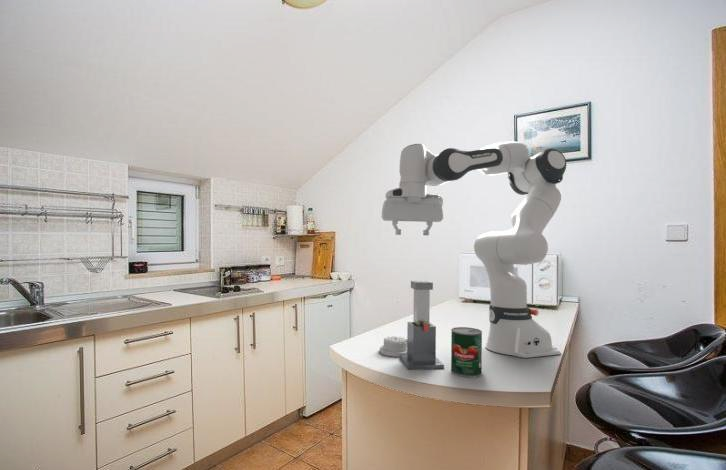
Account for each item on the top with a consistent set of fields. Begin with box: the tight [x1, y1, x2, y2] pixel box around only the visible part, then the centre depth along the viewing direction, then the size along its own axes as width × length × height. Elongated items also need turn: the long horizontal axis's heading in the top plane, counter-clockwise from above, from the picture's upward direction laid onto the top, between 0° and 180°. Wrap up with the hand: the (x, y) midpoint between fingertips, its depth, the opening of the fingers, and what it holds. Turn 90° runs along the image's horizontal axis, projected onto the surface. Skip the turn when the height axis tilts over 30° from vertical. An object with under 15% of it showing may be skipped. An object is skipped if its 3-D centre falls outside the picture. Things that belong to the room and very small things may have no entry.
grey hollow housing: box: [399, 321, 445, 371], centre depth 100 cm, size 10×10×12 cm
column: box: [410, 280, 434, 326], centre depth 100 cm, size 5×5×17 cm
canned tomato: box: [450, 326, 483, 378], centre depth 93 cm, size 8×8×11 cm
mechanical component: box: [379, 336, 407, 358], centre depth 110 cm, size 10×4×10 cm
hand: (412, 235), depth 115 cm, fingers open, 8 cm apart
